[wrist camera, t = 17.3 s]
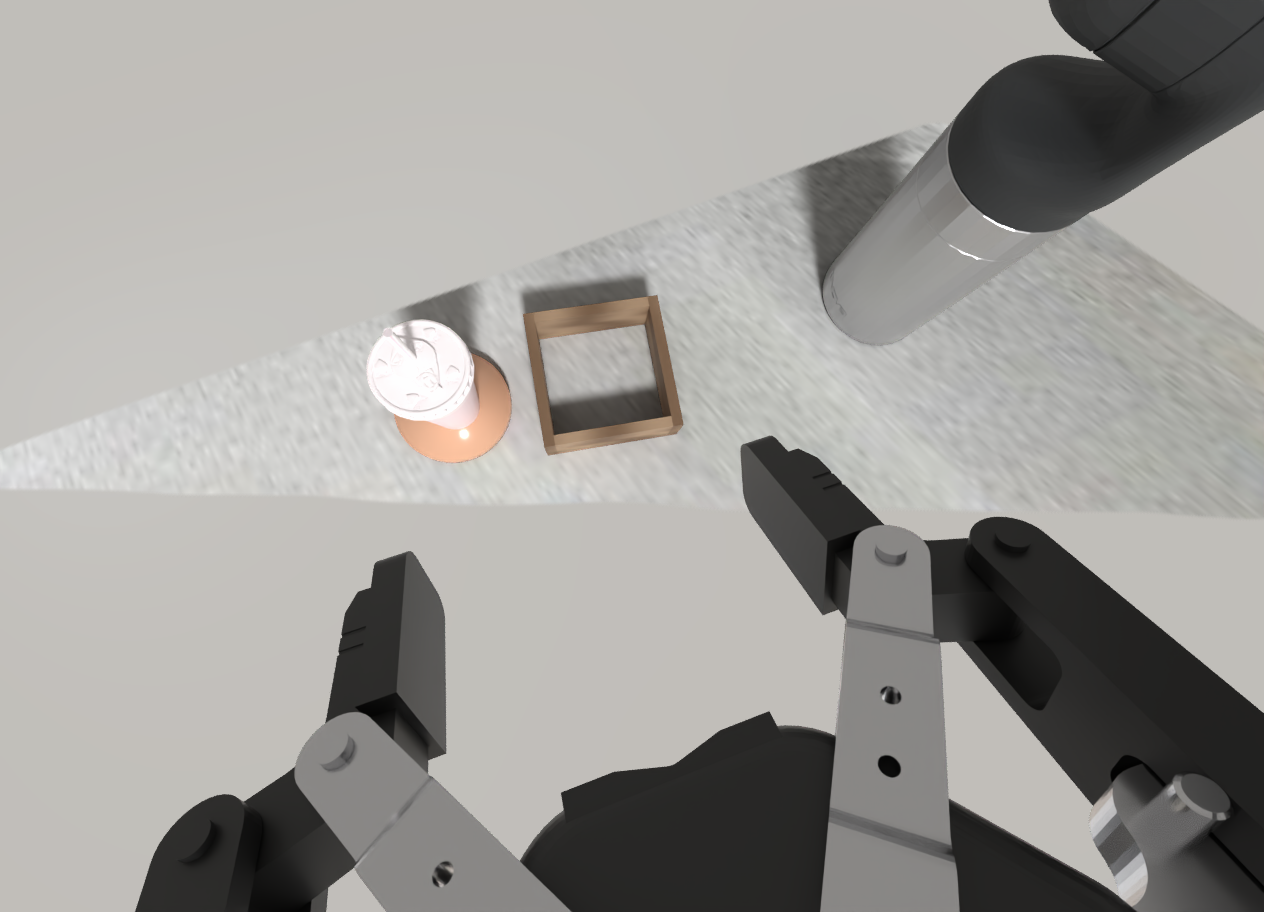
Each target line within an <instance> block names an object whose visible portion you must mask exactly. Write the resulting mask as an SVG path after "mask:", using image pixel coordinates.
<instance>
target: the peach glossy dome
mask: <svg viewBox="0 0 1264 912" xmlns="http://www.w3.org/2000/svg"><path fill="white" fill-rule="evenodd" d="M471 355H472V359H473V363H474V379H473V380H474V384H475V387H476V391H477V395H478V398H479V403H480V410H479V414H478V416H477V418H476V419H475V421H474V422H473V423H472V424H470V425H469V426H467V427H465V428H462V429H448V428H445V427H442V426H440V425H437V424H434V423H431V422H428V421H425V420H410V419H406V418H402V417H399V416H398V415H396V414H394V415H395V421H396V424H397V427H398V429H399V431H400V433H401V435H402V436H403V438H404V439H405V441H406V442H407V443H408V444H409V445H410V446H411V447H412V448H414V449H415V450H416V451H418V452H419V453H421V454H422V455H424V456H426V457H428V458H431V459H433V460H436V461H440V462H446V463H459V462H465V461H470V460H472V459H475V458H478V457H480V456H482V455H484V454H485V453H487V452H488V451H489V450H491V449H492V448H493V447H494V446H495V445H496V444H497V443H498V442H499V441H500V440H501V438H502V437H503V435H504V434H505V432H506V430H507V427H508V425H509V422H510V418H511V411H512V403H511V396H510V392H509V389H508V386H507V384H506V382H505V380H504V379H503V377H502V375H501V374H500V373H499V371H498V370H497V369H496V368H495V367H494V366H493V365H492V364H491V363H489V362H488V361H487V360H485V359H483V358H482V357H479V356H477V355H475V354H472V353H471Z"/></svg>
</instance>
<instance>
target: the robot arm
mask: <svg viewBox="0 0 1264 912" xmlns="http://www.w3.org/2000/svg"><path fill="white" fill-rule="evenodd" d="M1049 4H1050V8H1051V11H1052V14H1053V16H1054V17H1055V19H1056V20H1057V22H1058V23H1059V25H1060V26H1061V27H1062V28H1063V29H1064V30H1065V32H1067V33H1068V34H1069V35H1070V36H1071V37H1072V38H1073V39H1074V40H1075V41H1077V42H1078V43H1079V44H1080V45H1082V46H1084V47H1086V48H1087V49H1088V50H1089V51H1093V53H1094V54H1095V55H1097V56H1098V57H1100V58H1101V59H1102V60H1104V61H1101V60H1093V59H1086V58H1079V57H1073V56H1065V55H1042V56H1035V57H1030V58H1026V59H1023V60H1020V61H1017V62H1015V63H1013V64H1010V65H1008V66H1007V67H1005V68H1003V69H1002V70H1001V71H999V72H998V73H996V74H995V75H994V76H992V77H991V78H990V79H989V80H988V81H987V82H986V83H985V84H984V85H983V86H982V87H981V88H980V89H979V90H978V91H977V92H976V94H975V95H974V96H973V97H972V99H971V100H970V101H969V102H968V103H967V104H966V106H965V107H964V108H963V109H962V110H961V112H960V113H959V114H958V115H957V116H956V117H955V119H954V120H953V121H952V122H951V123H950V125H949V126H948V127H947V128H946V129H945V130H944V132H943V133H942V134H941V135H940V136H939V138H938V139H937V140H936V141H935V142H934V143H933V145H932V146H931V147H930V148H929V150H928V151H927V152H926V153H925V154H924V156H923V157H922V158H921V159H920V160H919V161H918V163H917V164H916V165H915V166H914V167H913V169H912V170H911V171H910V172H909V173H908V175H907V176H906V177H905V178H904V179H903V180H902V182H901V183H900V184H899V185H898V186H897V188H896V189H895V190H894V191H893V192H892V193H891V195H890V196H889V197H888V198H887V199H886V201H885V202H884V203H883V204H882V205H881V206H880V208H879V209H878V210H877V211H876V212H875V214H874V215H873V216H872V217H871V218H870V219H869V221H868V222H867V223H866V224H865V225H864V227H863V228H862V229H861V230H860V231H859V232H858V234H857V235H856V236H855V237H854V238H853V239H852V241H851V242H850V243H849V244H848V245H847V246H846V248H845V249H844V250H843V251H842V252H841V254H840V255H839V256H838V257H837V258H836V260H835V261H834V262H833V263H832V264H831V266H830V268H829V269H828V271H827V273H826V275H825V279H824V282H823V299H824V304H825V307H826V309H827V312H828V314H829V316H830V317H831V319H832V321H833V322H834V323H835V324H836V325H837V327H838V328H839V329H840V330H841V331H843V332H844V333H845V334H847V335H848V336H849V337H851V338H853V339H855V340H857V341H859V342H863V343H866V344H870V345H885V344H891V343H894V342H897V341H899V340H902V339H903V338H904V337H906V336H907V335H909V334H910V333H912V332H913V331H915V330H916V329H918V328H919V327H921V326H922V325H924V324H925V323H927V322H928V321H930V320H932V319H933V318H935V317H936V316H938V315H939V314H941V313H942V312H943V311H945V310H946V309H948V308H949V307H951V306H952V305H954V304H955V303H957V302H958V301H960V300H961V299H963V298H964V297H966V296H967V295H969V294H970V293H972V292H973V291H975V290H976V289H978V288H979V287H980V286H982V285H983V284H985V283H986V282H988V281H989V280H991V279H992V278H994V277H995V276H997V275H998V274H1000V273H1001V272H1003V271H1004V270H1006V269H1007V268H1009V267H1010V266H1012V265H1013V264H1015V263H1016V262H1017V261H1019V260H1020V259H1022V258H1023V257H1025V256H1026V255H1028V254H1029V253H1031V252H1032V251H1033V250H1035V249H1036V248H1038V247H1039V246H1041V245H1042V244H1044V243H1045V242H1047V241H1048V240H1050V239H1051V238H1053V237H1054V236H1056V235H1057V234H1058V233H1060V232H1061V231H1063V230H1064V229H1066V228H1067V227H1069V226H1070V225H1072V224H1073V223H1075V222H1076V221H1078V220H1079V219H1081V218H1082V217H1084V216H1085V215H1086V214H1088V213H1089V212H1092V211H1095V210H1097V209H1099V208H1102V207H1104V206H1106V205H1108V204H1110V203H1112V202H1114V201H1115V200H1117V199H1118V198H1120V197H1122V196H1123V195H1125V194H1127V193H1128V192H1130V191H1131V190H1132V189H1134V188H1136V187H1138V186H1139V185H1141V184H1142V183H1144V182H1145V181H1147V180H1148V179H1150V178H1151V177H1153V176H1155V175H1156V174H1158V173H1160V172H1161V171H1163V170H1164V169H1166V168H1167V167H1169V166H1171V165H1173V164H1174V163H1176V162H1177V161H1179V160H1181V159H1182V158H1184V157H1186V156H1187V155H1189V154H1190V153H1192V152H1194V151H1195V150H1197V149H1199V148H1200V147H1202V146H1204V145H1205V144H1207V143H1209V142H1211V141H1212V140H1214V139H1216V138H1217V137H1219V136H1220V135H1222V134H1224V133H1226V132H1227V131H1229V130H1231V129H1232V128H1234V127H1236V126H1237V125H1239V124H1241V123H1243V122H1244V121H1246V120H1248V119H1249V118H1251V117H1253V116H1254V115H1256V114H1258V113H1259V112H1261V111H1263V110H1264V0H1049ZM741 466H742V481H743V494H744V498H745V502H746V505H747V507H748V509H749V511H750V513H751V515H752V516H753V518H754V519H755V521H756V522H757V524H758V525H759V526H760V528H761V529H762V530H763V532H764V533H765V535H766V536H767V538H768V539H769V540H770V542H771V543H772V545H773V546H774V547H775V549H776V550H777V551H778V553H779V554H780V556H781V557H782V559H783V560H784V561H785V563H786V564H787V566H788V567H789V568H790V570H791V571H792V573H793V574H794V575H795V577H796V578H797V580H798V581H799V582H800V584H801V585H802V586H803V588H804V589H805V591H806V592H807V594H808V595H809V597H810V598H811V599H812V601H813V602H814V604H815V605H816V606H817V608H818V609H819V611H820V612H821V613H822V615H825V614H827V613H830V612H833V611H835V610H838V609H839V611H840V612H841V613H842V615H844V617H845V618H846V624H845V634H844V646H843V656H842V666H841V677H840V688H839V699H838V708H837V719H836V729H835V736H834V735H832V734H829V733H827V732H824V731H820V730H817V729H813V728H808V727H802V726H786V725H785V726H777V725H776V723H775V721H774V719H773V717H772V716H771V714H770V712H766V713H764V714H761V715H758V716H756V717H753V718H751V719H748V720H746V721H743V722H740V723H738V724H735V725H733V726H730V727H728V728H725V729H723V730H720V731H719V732H717V733H716V734H715V735H713V736H712V737H711V738H709V739H708V740H707V741H706V742H704V743H703V744H701V745H700V746H699V747H698V748H696V749H695V750H693V751H692V752H691V753H689V754H688V755H687V756H685V757H684V758H683V759H681V760H680V761H679V762H677V763H676V764H674V765H671V766H667V767H658V768H649V769H638V770H628V771H619V772H613V773H610V774H608V775H605V776H602V777H600V778H597V779H595V780H592V781H590V782H587V783H585V784H582V785H580V786H577V787H574V788H572V789H569V790H567V791H564V792H562V793H561V795H562V802H563V808H564V810H563V811H562V812H561V813H559V814H558V815H557V816H556V817H555V818H553V819H552V820H551V821H550V822H549V823H548V824H547V825H546V826H545V827H544V828H543V829H542V830H541V832H540V833H539V834H538V835H537V836H536V837H535V839H534V840H533V841H532V843H531V844H530V846H529V847H528V849H527V850H526V852H525V853H524V855H523V857H522V858H521V860H520V861H519V860H518V859H517V858H516V857H515V856H513V855H512V853H511V852H510V851H508V850H507V849H506V848H505V847H504V846H503V845H502V844H501V843H500V842H499V841H498V840H497V839H496V838H495V837H494V836H493V835H492V834H491V833H490V832H489V831H488V830H487V829H486V828H485V827H484V826H483V825H482V824H481V823H480V822H479V821H478V820H477V819H475V818H474V817H473V815H472V814H470V813H469V812H468V811H467V810H466V809H465V808H464V807H463V806H462V805H461V804H460V803H459V802H458V801H457V800H456V799H455V798H454V797H453V796H452V795H451V794H450V793H449V792H448V791H447V790H446V789H445V788H444V787H443V786H442V785H441V784H439V782H438V781H436V780H435V779H434V778H433V777H431V776H429V775H428V760H430V759H433V758H435V757H438V756H441V755H443V754H446V687H445V686H446V682H445V681H446V679H445V616H444V610H443V606H442V602H441V599H440V597H439V595H438V593H437V591H436V589H435V588H434V586H433V584H432V583H431V581H430V579H429V578H428V576H427V574H426V573H425V571H424V569H423V568H422V566H421V564H420V563H419V561H418V559H417V558H416V556H415V555H414V554H413V553H412V552H411V551H408V552H405V553H402V554H399V555H396V556H393V557H390V558H387V559H384V560H380V561H377V562H376V563H375V565H374V569H373V577H372V584H371V588H369V589H365V590H362V591H359V592H358V593H357V594H356V596H355V598H354V599H353V601H352V603H351V604H350V606H349V608H348V609H347V611H346V613H345V617H344V622H343V628H342V638H341V639H340V645H339V656H337V662H336V668H335V673H334V679H333V684H332V690H331V696H330V702H329V708H328V713H327V718H326V722H325V724H324V725H322V726H321V727H320V728H319V729H318V730H317V731H316V732H315V733H314V734H313V735H312V736H311V737H310V739H309V740H308V741H307V742H306V743H305V745H304V747H303V748H302V750H301V752H300V754H299V756H298V759H297V762H296V766H295V767H294V768H293V769H292V770H290V771H289V772H288V773H286V774H285V775H283V776H282V777H280V778H279V779H277V780H276V781H275V782H273V783H272V784H270V785H268V786H267V787H265V788H264V789H262V790H261V791H259V792H258V793H256V794H255V795H253V796H252V797H251V798H249V799H247V800H246V801H244V802H243V801H241V800H240V799H238V798H237V797H235V796H233V795H226V794H223V795H217V796H214V797H211V798H209V799H207V800H205V801H202V802H201V803H199V804H198V805H196V806H194V807H193V808H192V809H190V810H189V811H188V812H187V813H185V814H184V815H183V816H182V817H181V818H180V819H179V820H178V821H177V822H176V823H175V824H174V825H173V826H172V827H171V828H170V830H169V831H168V832H167V834H166V835H165V836H164V838H163V839H162V841H161V842H160V844H159V846H158V847H157V850H156V851H155V853H154V856H153V858H152V861H151V864H150V867H149V870H148V873H147V876H146V880H145V883H144V886H143V889H142V892H141V895H140V898H139V901H138V905H137V908H136V911H135V912H326V907H327V895H328V887H329V886H330V885H332V884H333V883H335V882H336V881H337V880H339V878H341V877H342V876H344V875H345V874H346V873H347V872H349V871H350V870H352V869H353V868H355V870H356V872H357V874H358V875H359V877H360V878H361V879H362V881H363V882H364V883H365V885H366V886H367V887H368V888H369V890H370V891H371V892H372V894H373V895H374V896H375V898H376V899H377V900H378V902H379V903H380V904H381V906H382V907H383V908H384V909H385V911H386V912H1264V713H1263V712H1261V711H1260V710H1259V709H1258V708H1257V707H1256V706H1254V705H1253V704H1252V703H1251V702H1249V701H1248V700H1247V699H1246V698H1245V697H1243V696H1242V695H1241V694H1240V693H1239V692H1237V691H1236V690H1235V689H1234V688H1232V687H1231V686H1230V685H1229V684H1228V683H1226V682H1225V681H1224V680H1223V679H1221V678H1220V677H1219V676H1218V675H1217V674H1215V673H1214V672H1213V671H1212V670H1210V669H1209V668H1208V667H1207V666H1206V665H1204V664H1203V663H1202V662H1201V661H1200V660H1198V659H1197V658H1196V657H1195V656H1193V655H1192V654H1191V653H1190V652H1189V651H1187V650H1186V649H1185V648H1184V647H1183V646H1181V645H1180V644H1179V643H1178V642H1176V641H1175V640H1174V639H1173V638H1172V637H1170V636H1169V635H1168V634H1167V633H1166V632H1164V631H1163V630H1162V629H1161V628H1159V627H1158V626H1157V625H1156V624H1155V623H1153V622H1152V621H1151V620H1150V619H1149V618H1147V617H1146V616H1145V615H1144V614H1143V613H1141V612H1140V611H1139V610H1138V609H1136V608H1135V607H1134V606H1133V605H1132V604H1130V603H1129V602H1128V601H1127V600H1126V599H1124V598H1123V597H1122V596H1121V595H1119V594H1118V593H1117V592H1116V591H1115V590H1113V589H1112V588H1111V587H1110V586H1109V585H1107V584H1106V583H1105V582H1103V581H1102V580H1101V579H1100V578H1099V577H1098V576H1096V575H1095V574H1094V573H1093V572H1091V571H1090V570H1089V569H1088V568H1087V567H1085V566H1084V565H1083V564H1082V563H1081V562H1079V561H1078V560H1077V559H1076V558H1075V557H1073V556H1072V555H1071V554H1070V553H1068V552H1067V551H1066V550H1065V549H1063V548H1062V547H1061V546H1060V545H1059V544H1058V543H1056V542H1055V541H1054V540H1053V539H1051V538H1050V537H1049V536H1048V535H1047V534H1045V533H1044V532H1043V531H1041V530H1040V529H1039V528H1037V527H1035V526H1033V525H1032V524H1029V523H1027V522H1024V521H1021V520H1018V519H1014V518H1008V517H991V518H986V519H983V520H981V521H979V522H977V523H976V524H975V525H974V526H973V527H972V529H971V531H970V535H969V538H963V539H949V540H931V541H927V540H922V539H921V538H920V537H918V536H917V535H916V534H914V533H913V532H911V531H908V530H906V529H904V528H900V527H897V526H890V525H884V524H883V523H882V522H881V521H880V520H879V519H878V518H877V517H876V516H875V515H874V514H873V513H872V512H871V511H870V510H869V509H868V508H867V507H866V506H865V505H864V504H863V503H862V502H861V501H860V500H859V499H858V498H857V497H856V496H855V495H854V494H853V493H852V492H851V491H850V490H849V489H848V488H847V487H846V486H845V485H842V483H841V481H840V480H839V479H838V478H837V477H836V476H835V475H834V474H831V471H830V470H829V469H828V468H827V467H826V466H825V465H824V464H823V463H822V462H821V461H820V460H819V459H818V458H817V457H815V456H813V455H811V454H809V453H806V452H804V451H802V450H800V449H795V450H792V451H789V452H788V451H787V450H786V449H785V448H784V447H783V446H782V445H781V443H780V442H779V441H778V440H777V439H776V438H775V437H773V436H768V437H765V438H761V439H758V440H755V441H752V442H749V443H746V444H743V445H742V446H741ZM940 642H957V643H959V645H960V646H961V647H962V648H963V650H964V651H965V652H966V653H967V654H968V656H969V657H970V658H971V659H972V661H973V662H974V663H975V664H976V665H977V667H978V668H979V669H980V670H981V671H982V673H983V674H984V675H985V676H986V677H987V679H988V680H989V681H990V682H991V683H992V685H993V686H994V687H995V688H996V689H997V690H998V692H999V693H1000V694H1001V695H1002V697H1003V698H1004V699H1005V700H1006V701H1007V703H1008V704H1009V705H1010V706H1011V708H1012V709H1013V710H1014V711H1015V712H1016V714H1017V715H1018V716H1019V717H1020V718H1021V719H1022V721H1023V722H1024V723H1025V724H1026V726H1027V727H1028V728H1029V729H1030V730H1031V732H1032V733H1033V734H1034V735H1035V736H1036V738H1037V739H1038V740H1039V741H1040V742H1041V744H1042V745H1043V746H1044V747H1045V748H1046V750H1047V751H1048V752H1049V753H1050V755H1051V756H1052V757H1053V758H1054V759H1055V760H1056V762H1057V763H1058V764H1059V765H1060V767H1061V768H1062V769H1063V770H1064V771H1065V773H1066V774H1067V775H1068V776H1069V777H1070V779H1071V780H1072V781H1073V782H1074V783H1075V784H1076V786H1077V787H1078V788H1079V789H1080V791H1081V792H1082V793H1083V794H1084V795H1085V797H1086V798H1087V799H1088V800H1089V801H1090V803H1091V804H1092V805H1093V807H1092V809H1091V812H1090V815H1089V826H1090V832H1091V835H1092V838H1093V841H1094V843H1095V845H1096V847H1097V849H1098V850H1099V852H1100V853H1101V855H1102V857H1103V858H1104V860H1105V861H1106V863H1107V865H1108V867H1109V868H1110V870H1111V872H1112V874H1113V876H1114V878H1115V881H1116V884H1117V888H1118V894H1119V896H1118V895H1116V894H1115V893H1114V892H1112V891H1111V890H1109V889H1108V888H1106V887H1105V886H1103V885H1102V884H1100V883H1099V882H1097V881H1095V880H1093V879H1092V878H1090V877H1088V876H1086V875H1085V874H1083V873H1081V872H1079V871H1077V870H1076V869H1074V868H1072V867H1070V866H1068V865H1067V864H1065V863H1063V862H1061V861H1059V860H1058V859H1056V858H1054V857H1052V856H1051V855H1049V854H1047V853H1045V852H1043V851H1042V850H1040V849H1038V848H1036V847H1034V846H1033V845H1031V844H1029V843H1027V842H1026V841H1024V840H1022V839H1020V838H1018V837H1017V836H1015V835H1013V834H1011V833H1009V832H1008V831H1006V830H1004V829H1002V828H1000V827H999V826H997V825H995V824H993V823H992V822H990V821H988V820H986V819H985V818H983V817H981V816H979V815H977V814H975V813H974V812H972V811H970V810H969V809H966V808H965V807H963V806H961V805H960V804H958V803H956V802H954V801H952V800H951V799H949V798H948V779H947V760H946V740H945V722H944V701H943V683H942V662H941V647H940Z"/></svg>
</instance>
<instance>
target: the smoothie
mask: <svg viewBox="0 0 1264 912" xmlns="http://www.w3.org/2000/svg"><path fill="white" fill-rule="evenodd" d="M366 370H367V379H368V383H369V386H370V388H371V390H372V392H373V394H374V395H375V397H376V398H377V399H378V400H379V401H380V402H381V403H382V404H383V405H384V406H385V407H386V408H387V409H388V410H389V411H391V412H392V413H394V414H396V415H398V416H399V417H402V418H406V419H410V420H425V421H428V422H431V423H434V424H437V425H440V426H442V427H445V428H448V429H462V428H465V427H467V426H469V425H470V424H472V423H473V422H474V421H475V419H476V418H477V416H478V414H479V410H480V403H479V398H478V395H477V391H476V387H475V384H474V380H473V379H474V363H473V359H472V355H471V352H470V351H469V349H468V347H467V345H466V344H465V342H464V341H463V340H462V339H461V338H460V337H459V336H458V335H457V334H456V333H455V332H454V331H453V330H452V329H450V328H449V327H447V326H445V325H443V324H441V323H438V322H435V321H431V320H423V319H418V320H410V321H406V322H402V323H400V324H397V325H395V326H393V327H392V328H386V329H384V330H383V334H382V335H381V336H380V337H379V338H378V340H377V341H376V342H375V344H374V345H373V347H372V349H371V351H370V354H369V356H368V360H367V369H366Z"/></svg>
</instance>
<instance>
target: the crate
mask: <svg viewBox="0 0 1264 912" xmlns="http://www.w3.org/2000/svg"><path fill="white" fill-rule="evenodd" d="M523 317H524V324H525V330H526V336H527V342H528V348H529V354H530V361H531V367H532V373H533V379H534V385H535V392H536V398H537V404H538V410H539V416H540V423H541V429H542V435H543V441H544V447H545V450H546V452H547V454H548V455H553V454H559V453H565V452H571V451H577V450H583V449H589V448H595V447H601V446H607V445H613V444H619V443H625V442H631V441H637V440H643V439H649V438H655V437H661V436H667V435H673V434H677V432H678V431H679V430H680V428H681V427H682V426H683V420H682V415H681V410H680V405H679V400H678V395H677V390H676V385H675V380H674V375H673V370H672V365H671V361H670V356H669V351H668V346H667V341H666V336H665V331H664V326H663V321H662V316H661V311H660V306H659V301H658V296H657V295H656V296H648V297H641V298H634V299H627V300H620V301H612V302H605V303H598V304H591V305H584V306H577V307H569V308H562V309H555V310H548V311H541V312H534V313H526V314H523ZM642 324H645V327H646V332H647V337H648V343H649V348H650V353H651V358H652V363H653V368H654V373H655V378H656V383H657V388H658V393H659V398H660V403H661V408H662V413H663V417H662V418H656V419H650V420H643V421H637V422H631V423H625V424H619V425H613V426H607V427H601V428H594V429H588V430H582V431H576V432H570V433H564V434H558V435H555V433H554V427H553V421H552V415H551V409H550V403H549V397H548V391H547V384H546V378H545V372H544V366H543V360H542V354H541V348H540V342H539V339H545V338H552V337H559V336H566V335H573V334H580V333H587V332H594V331H601V330H607V329H614V328H621V327H628V326H635V325H642Z"/></svg>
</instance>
